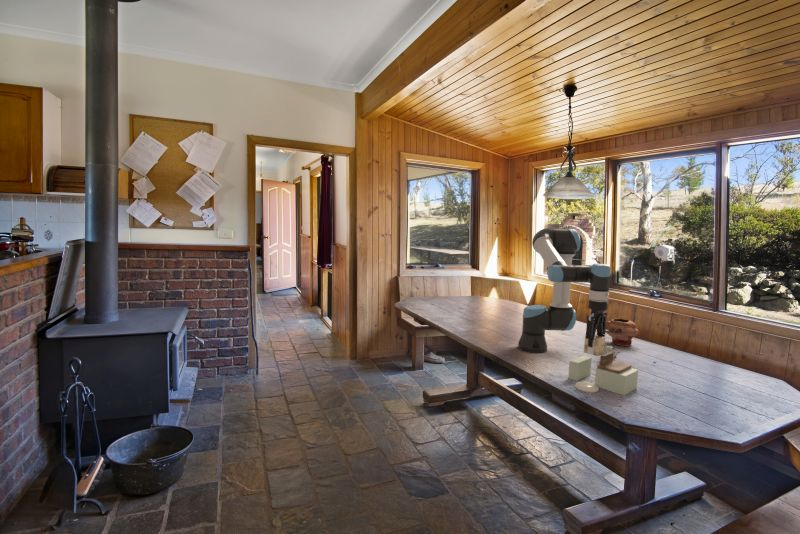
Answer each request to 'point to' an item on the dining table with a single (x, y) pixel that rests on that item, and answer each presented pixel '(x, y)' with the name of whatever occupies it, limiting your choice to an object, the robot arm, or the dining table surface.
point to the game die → (610, 349)
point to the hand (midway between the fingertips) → (594, 352)
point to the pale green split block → (604, 376)
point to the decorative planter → (622, 331)
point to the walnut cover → (612, 363)
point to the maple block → (596, 345)
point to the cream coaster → (587, 387)
